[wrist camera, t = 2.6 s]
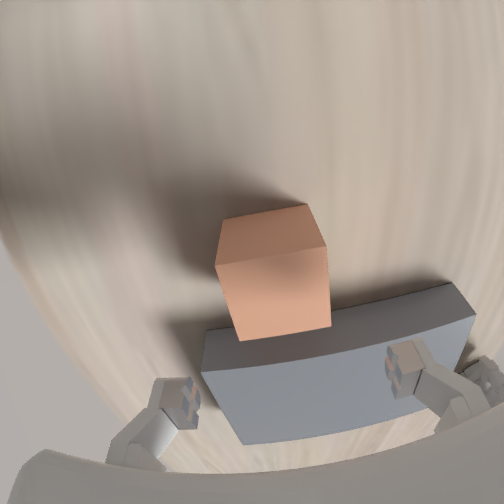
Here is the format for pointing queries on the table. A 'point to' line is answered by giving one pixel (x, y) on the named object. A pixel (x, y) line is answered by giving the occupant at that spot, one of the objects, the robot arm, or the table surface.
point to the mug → (487, 380)
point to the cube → (274, 273)
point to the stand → (330, 367)
